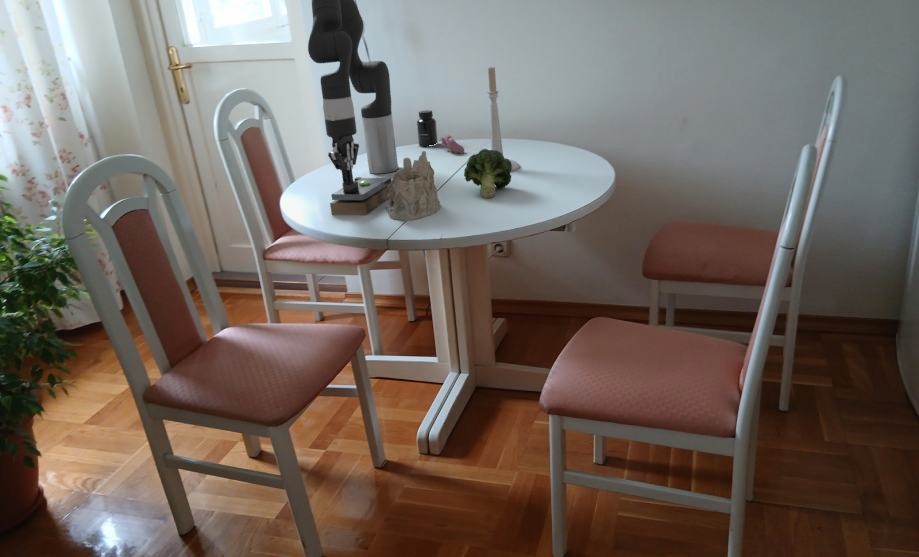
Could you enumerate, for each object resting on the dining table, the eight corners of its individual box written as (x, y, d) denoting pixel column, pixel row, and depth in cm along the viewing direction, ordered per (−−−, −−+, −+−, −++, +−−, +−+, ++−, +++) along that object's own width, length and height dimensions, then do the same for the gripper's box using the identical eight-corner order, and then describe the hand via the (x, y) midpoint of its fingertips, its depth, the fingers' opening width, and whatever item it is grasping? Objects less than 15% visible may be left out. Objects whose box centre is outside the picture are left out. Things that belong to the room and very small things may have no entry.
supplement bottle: (421, 148, 260) (417, 114, 256) (417, 145, 266) (413, 111, 262) (440, 145, 262) (437, 111, 257) (435, 142, 268) (432, 108, 264)
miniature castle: (407, 197, 202) (399, 144, 195) (453, 207, 192) (447, 151, 185) (366, 217, 191) (357, 161, 185) (412, 228, 182) (404, 170, 175)
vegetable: (454, 193, 194) (458, 156, 204) (489, 218, 201) (491, 181, 210) (486, 168, 187) (489, 131, 197) (521, 195, 193) (522, 158, 203)
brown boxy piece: (359, 192, 212) (357, 177, 210) (401, 193, 207) (399, 176, 206) (326, 214, 194) (323, 197, 192) (372, 215, 190) (369, 197, 188)
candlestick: (503, 175, 216) (496, 69, 205) (468, 171, 223) (460, 69, 212) (527, 164, 225) (522, 62, 214) (493, 161, 233) (486, 63, 221)
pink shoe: (446, 154, 256) (436, 137, 253) (457, 146, 256) (447, 129, 253) (455, 159, 247) (444, 142, 244) (466, 151, 247) (455, 134, 244)
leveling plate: (362, 183, 208) (360, 169, 207) (391, 183, 205) (389, 169, 204) (332, 199, 193) (330, 185, 191) (363, 200, 190) (361, 185, 188)
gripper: (338, 112, 192) (347, 178, 198) (313, 120, 181) (323, 190, 187) (364, 111, 190) (372, 178, 196) (340, 120, 178) (350, 190, 184)
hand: (348, 183), depth 191 cm, fingers closed
